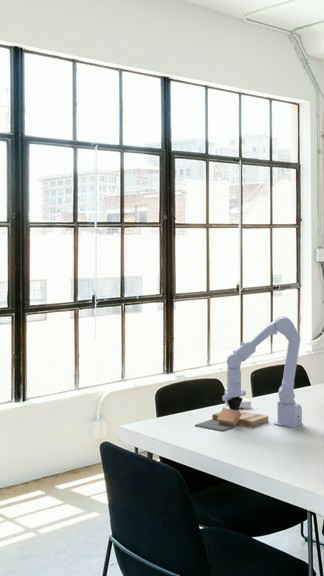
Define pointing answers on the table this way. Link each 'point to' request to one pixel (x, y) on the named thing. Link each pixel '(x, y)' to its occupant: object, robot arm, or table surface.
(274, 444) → the table surface
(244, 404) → the bracket
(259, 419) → the board
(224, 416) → the block
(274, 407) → the table surface
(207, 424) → the mat
